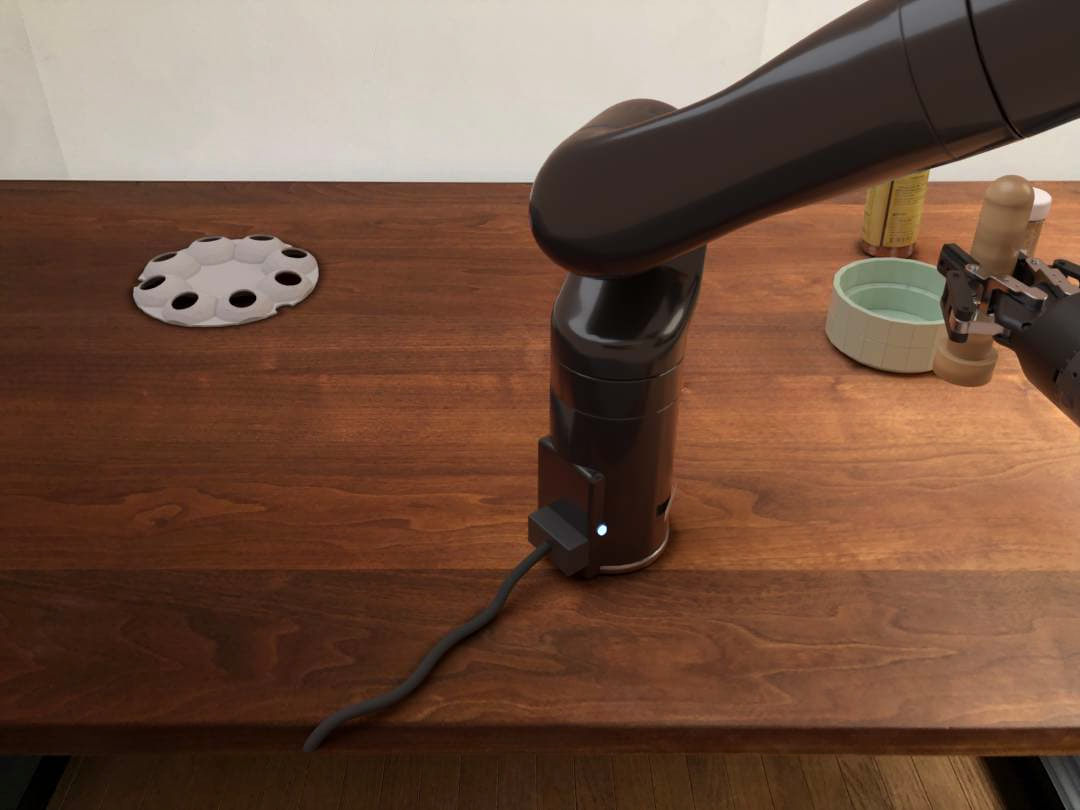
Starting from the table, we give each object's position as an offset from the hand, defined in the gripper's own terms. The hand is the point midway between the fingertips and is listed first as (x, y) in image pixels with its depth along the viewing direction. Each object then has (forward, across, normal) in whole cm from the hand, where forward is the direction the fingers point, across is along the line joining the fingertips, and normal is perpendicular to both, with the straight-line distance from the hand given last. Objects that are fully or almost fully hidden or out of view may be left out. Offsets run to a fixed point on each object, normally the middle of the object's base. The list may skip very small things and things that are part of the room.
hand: (968, 252), depth 79 cm
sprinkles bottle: (+20, -20, +19) cm, 35 cm away
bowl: (+17, -7, +19) cm, 27 cm away
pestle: (-3, 0, +9) cm, 9 cm away
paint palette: (+44, +58, +19) cm, 75 cm away
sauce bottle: (+36, -16, +19) cm, 44 cm away
